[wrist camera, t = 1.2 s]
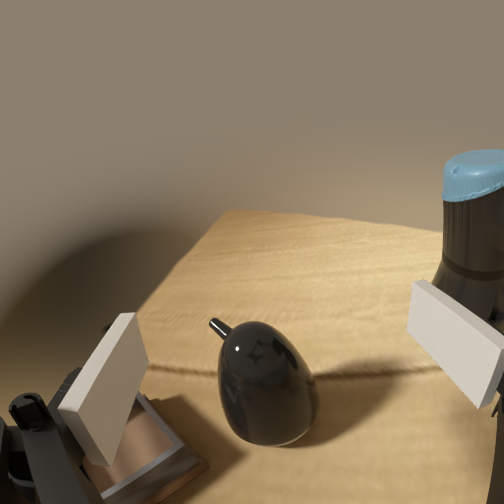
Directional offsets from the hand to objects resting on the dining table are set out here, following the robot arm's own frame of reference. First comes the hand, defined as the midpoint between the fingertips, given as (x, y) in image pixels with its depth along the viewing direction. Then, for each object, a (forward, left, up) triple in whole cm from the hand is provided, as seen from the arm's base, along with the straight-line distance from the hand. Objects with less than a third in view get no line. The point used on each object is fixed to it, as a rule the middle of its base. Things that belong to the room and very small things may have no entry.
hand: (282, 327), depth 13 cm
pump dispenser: (-4, -9, -23) cm, 25 cm away
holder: (+13, -18, -22) cm, 32 cm away
